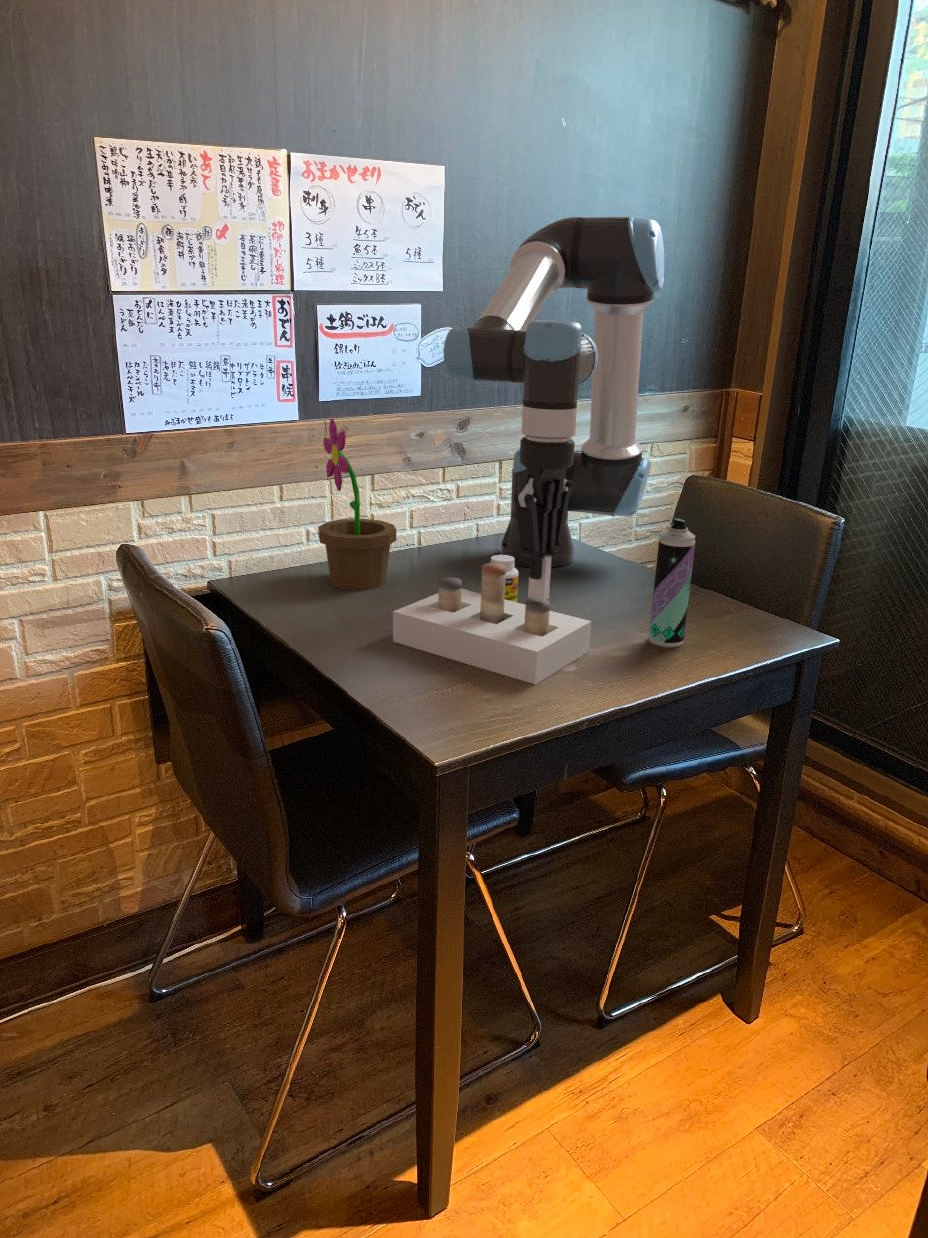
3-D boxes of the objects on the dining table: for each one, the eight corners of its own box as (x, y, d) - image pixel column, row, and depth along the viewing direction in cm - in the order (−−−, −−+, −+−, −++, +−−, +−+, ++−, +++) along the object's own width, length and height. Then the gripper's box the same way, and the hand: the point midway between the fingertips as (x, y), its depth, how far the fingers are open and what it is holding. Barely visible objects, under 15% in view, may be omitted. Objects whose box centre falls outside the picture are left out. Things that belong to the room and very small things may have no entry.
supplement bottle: (496, 623, 155) (498, 564, 151) (477, 613, 159) (479, 555, 155) (522, 617, 157) (526, 559, 154) (503, 608, 162) (506, 551, 158)
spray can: (642, 637, 150) (654, 516, 144) (670, 633, 152) (684, 514, 145) (660, 649, 146) (674, 524, 139) (690, 645, 148) (705, 522, 141)
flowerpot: (308, 574, 176) (303, 414, 166) (379, 566, 183) (378, 411, 172) (334, 597, 164) (331, 426, 154) (408, 588, 171) (410, 422, 160)
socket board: (453, 614, 158) (453, 586, 156) (589, 651, 144) (591, 621, 142) (393, 641, 145) (393, 611, 144) (535, 684, 132) (537, 651, 130)
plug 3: (530, 652, 143) (533, 596, 140) (550, 658, 141) (554, 601, 138) (518, 659, 140) (521, 602, 137) (538, 665, 138) (542, 608, 135)
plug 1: (446, 628, 151) (447, 575, 148) (464, 633, 149) (466, 580, 146) (433, 634, 148) (434, 581, 145) (451, 640, 147) (452, 585, 143)
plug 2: (488, 616, 146) (490, 561, 143) (507, 621, 144) (510, 566, 141) (475, 622, 143) (477, 566, 140) (494, 628, 141) (497, 571, 138)
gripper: (548, 428, 136) (539, 582, 144) (499, 439, 126) (492, 603, 134) (593, 434, 132) (582, 592, 140) (547, 446, 122) (537, 615, 130)
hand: (538, 597), depth 137 cm, fingers closed
